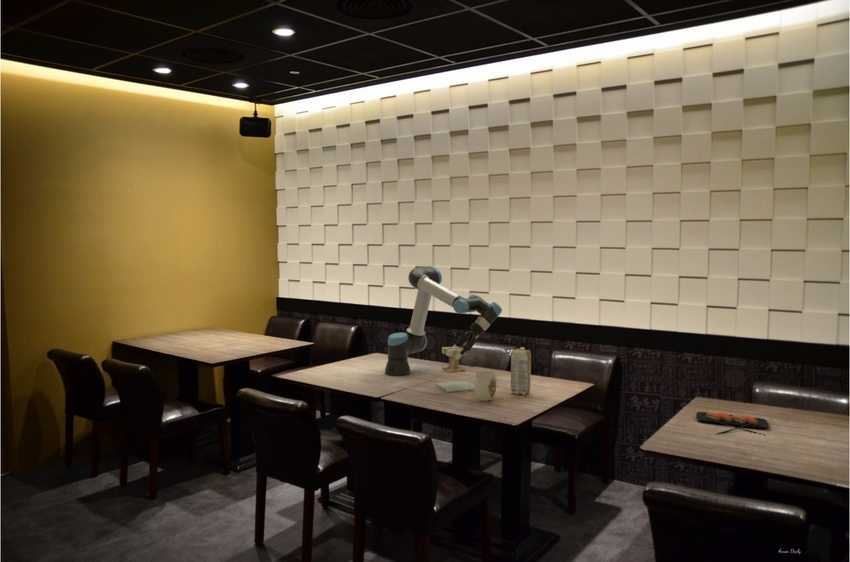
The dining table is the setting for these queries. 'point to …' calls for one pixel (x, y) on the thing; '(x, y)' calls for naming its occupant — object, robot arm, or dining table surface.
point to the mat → (456, 386)
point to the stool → (452, 360)
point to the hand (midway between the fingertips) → (452, 356)
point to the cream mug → (485, 385)
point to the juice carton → (520, 371)
